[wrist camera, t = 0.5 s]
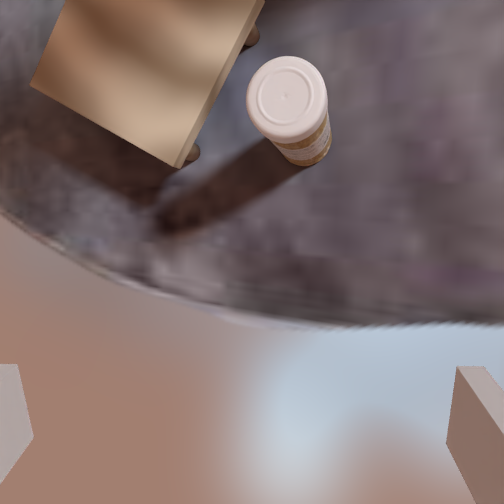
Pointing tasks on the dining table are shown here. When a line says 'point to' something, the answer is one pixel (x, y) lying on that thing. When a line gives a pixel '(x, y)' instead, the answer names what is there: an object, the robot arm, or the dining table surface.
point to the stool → (146, 66)
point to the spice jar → (291, 108)
